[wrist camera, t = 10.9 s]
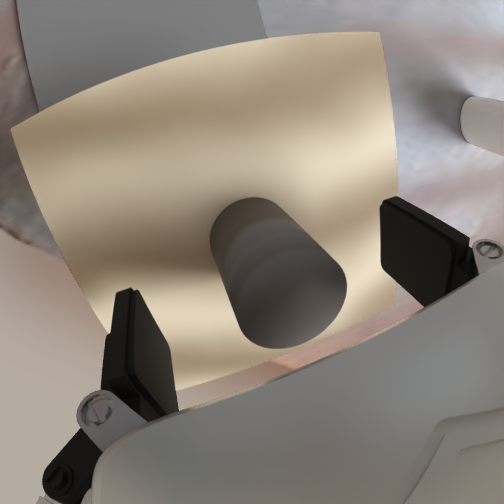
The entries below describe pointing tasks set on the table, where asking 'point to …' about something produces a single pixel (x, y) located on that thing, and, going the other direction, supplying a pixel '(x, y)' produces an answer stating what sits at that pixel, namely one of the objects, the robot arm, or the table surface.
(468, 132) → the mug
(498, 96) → the table surface
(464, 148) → the table surface
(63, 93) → the mat
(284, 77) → the lid
